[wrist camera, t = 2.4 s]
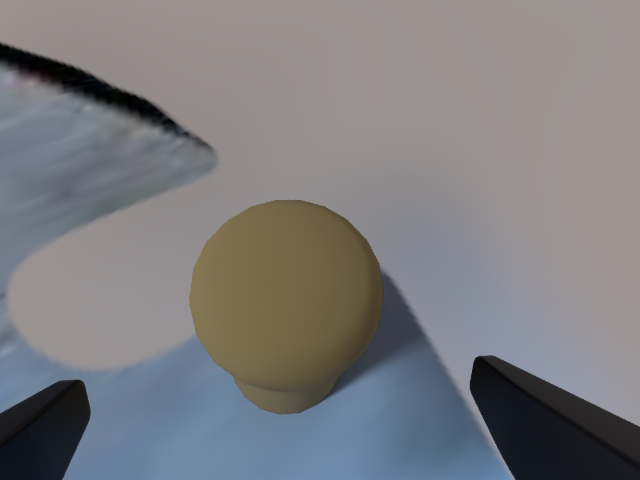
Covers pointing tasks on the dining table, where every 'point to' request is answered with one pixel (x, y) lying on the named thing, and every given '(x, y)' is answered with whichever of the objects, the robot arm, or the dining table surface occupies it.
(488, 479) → the dining table surface
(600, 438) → the robot arm
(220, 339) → the cork
